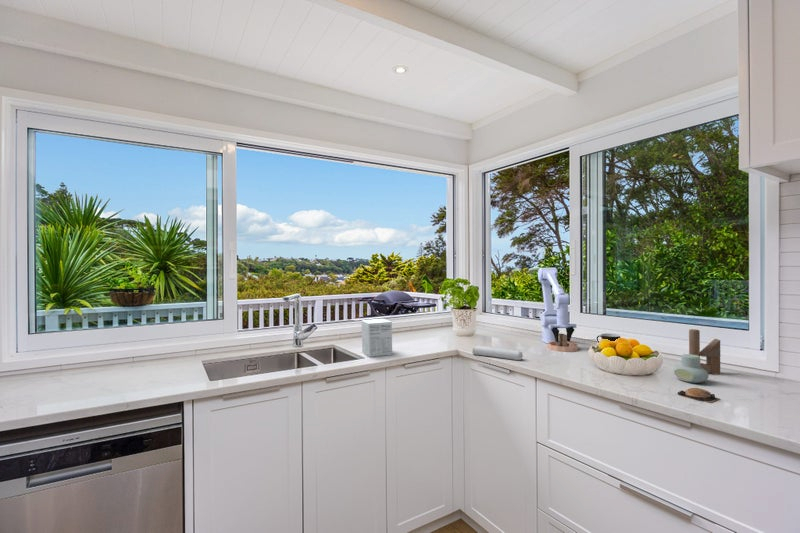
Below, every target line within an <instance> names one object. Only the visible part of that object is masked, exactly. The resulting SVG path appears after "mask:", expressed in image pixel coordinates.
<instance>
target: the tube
mask: <svg viewBox="0 0 800 533" xmlns="http://www.w3.org/2000/svg"><path fill="white" fill-rule="evenodd" d="M471 351H472V354H473V356H482V357H490V358H496V359H503V360H513V361H522V359H523V358H524V357H523V352H522V351H520V350H515V349H509V348H499V347H493V346H485V345H476V344H474V345H473V346H472V350H471Z"/></svg>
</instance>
